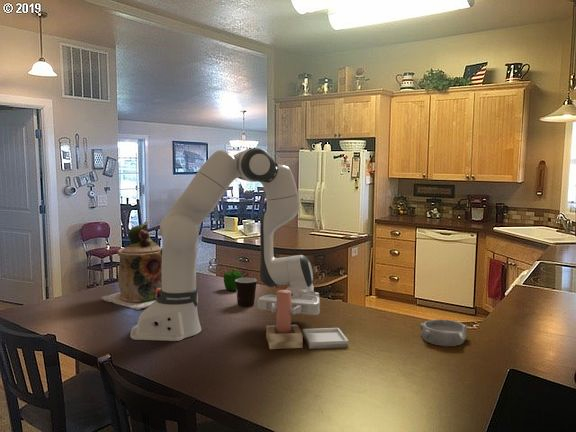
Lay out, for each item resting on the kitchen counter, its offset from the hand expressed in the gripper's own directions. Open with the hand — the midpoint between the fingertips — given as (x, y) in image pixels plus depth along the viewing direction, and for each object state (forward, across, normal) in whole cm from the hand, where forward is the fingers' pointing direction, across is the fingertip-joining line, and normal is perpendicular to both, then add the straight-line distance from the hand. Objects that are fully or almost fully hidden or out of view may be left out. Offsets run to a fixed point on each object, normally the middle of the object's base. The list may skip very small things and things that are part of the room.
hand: (282, 311), depth 145 cm
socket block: (-1, 0, +10) cm, 10 cm away
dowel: (-1, 0, +9) cm, 9 cm away
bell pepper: (-57, -39, +11) cm, 70 cm away
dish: (-18, +48, +10) cm, 53 cm away
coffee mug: (-38, -25, +10) cm, 47 cm away
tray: (-6, +12, +10) cm, 17 cm away
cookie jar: (-32, -68, +11) cm, 77 cm away
